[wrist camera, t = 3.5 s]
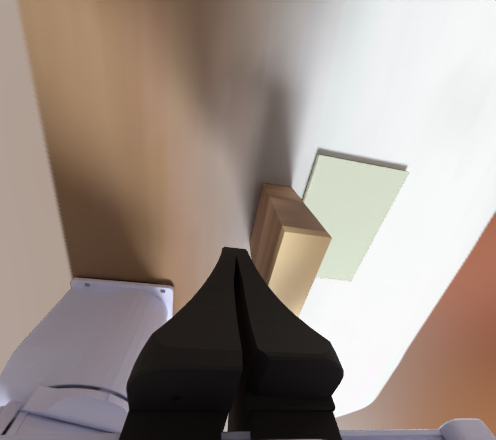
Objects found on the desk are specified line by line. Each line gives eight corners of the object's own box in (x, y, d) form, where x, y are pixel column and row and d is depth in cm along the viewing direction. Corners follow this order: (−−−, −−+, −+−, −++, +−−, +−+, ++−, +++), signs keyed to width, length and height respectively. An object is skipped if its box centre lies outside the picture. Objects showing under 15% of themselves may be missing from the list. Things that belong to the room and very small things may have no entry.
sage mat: (279, 271, 22) (280, 274, 21) (317, 154, 16) (319, 155, 16) (349, 278, 23) (351, 281, 22) (405, 171, 18) (409, 172, 17)
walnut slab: (249, 243, 20) (259, 315, 13) (262, 182, 17) (284, 231, 10) (274, 246, 20) (297, 318, 13) (291, 187, 18) (332, 237, 10)
